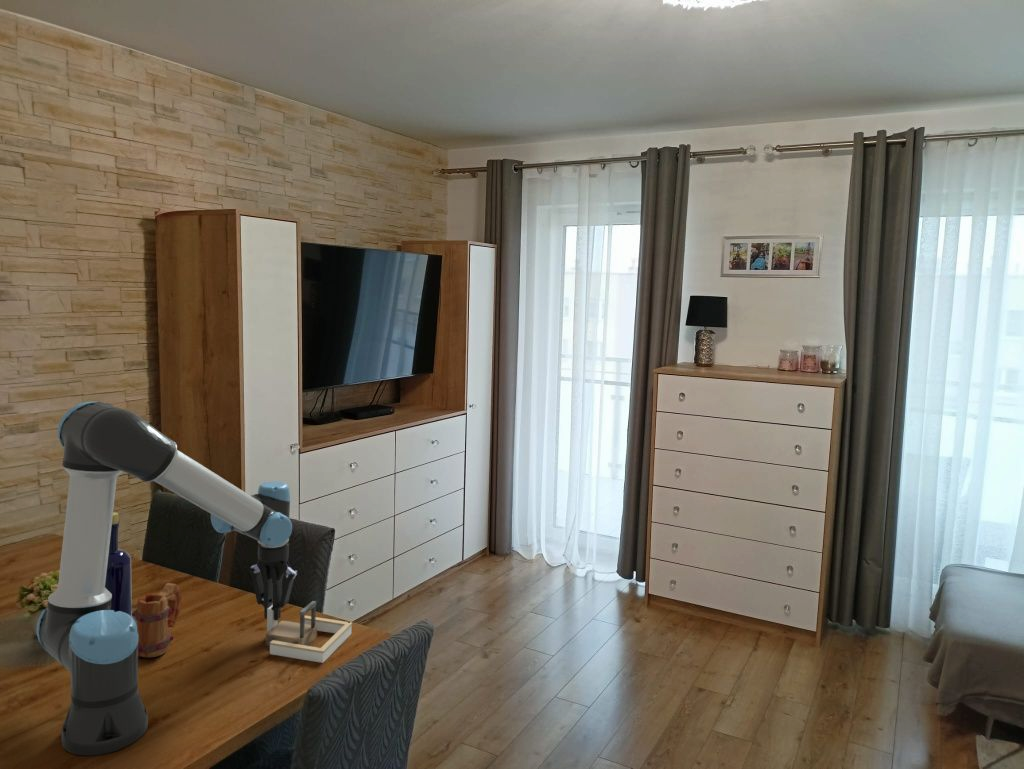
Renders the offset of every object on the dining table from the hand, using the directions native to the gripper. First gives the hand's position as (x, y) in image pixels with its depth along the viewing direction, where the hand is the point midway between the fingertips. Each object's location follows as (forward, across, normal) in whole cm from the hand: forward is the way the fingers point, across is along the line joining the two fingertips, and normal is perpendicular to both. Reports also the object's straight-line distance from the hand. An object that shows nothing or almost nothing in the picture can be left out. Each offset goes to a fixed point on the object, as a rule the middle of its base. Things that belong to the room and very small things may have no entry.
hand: (272, 630), depth 193 cm
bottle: (+2, +41, +7) cm, 42 cm away
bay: (+2, -11, 0) cm, 11 cm away
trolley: (+2, -6, 0) cm, 6 cm away
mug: (+2, +22, +14) cm, 26 cm away
